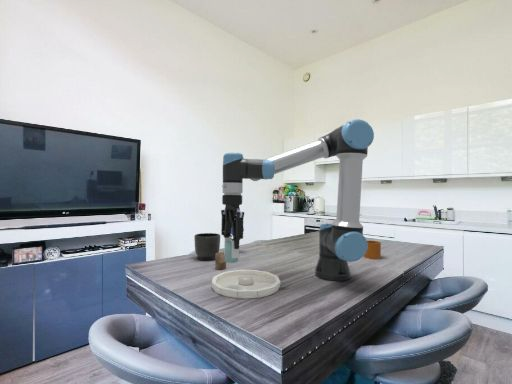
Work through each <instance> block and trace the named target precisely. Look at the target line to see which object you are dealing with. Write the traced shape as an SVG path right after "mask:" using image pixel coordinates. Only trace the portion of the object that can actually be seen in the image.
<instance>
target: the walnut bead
mask: <svg viewBox="0 0 512 384" xmlns="http://www.w3.org/2000/svg"><path fill="white" fill-rule="evenodd" d="M214 259H215V260H214V261H215V265H214V266H215V270H218V271H223V270H226V269H227V262H225V255H224V252H219V253H216V255H215V258H214Z"/></svg>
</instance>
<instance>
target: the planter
mask: <svg viewBox="0 0 512 384" xmlns="http://www.w3.org/2000/svg"><path fill="white" fill-rule="evenodd" d="M220 249H221V234H220V233H213V232H205V233H201V232H200V233H197V234H195V235H194V251H195V254H196V256H197V257H198V258H199V259H200V260H202V261H212V260H214V259H215V255H216V253H220Z"/></svg>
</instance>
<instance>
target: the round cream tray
mask: <svg viewBox="0 0 512 384" xmlns="http://www.w3.org/2000/svg"><path fill="white" fill-rule="evenodd" d="M280 287H281V279H280V278H279V276H278V275H276V274H273V273H272V272H268V271H265V270H263V271H262V270H256V269H236V270H229V271H223V272H221V273H219V274H216V275H215V276H213V277H212V280H211V288H212V290H213V291H214V292H215V293H216V294H218V295H219V296H224V297H227V298H233V299H242V300H244V299H245V300H247V299H249V300H251V299H258V298H264V297H268V296H271V295H273V294H275V293H277V292H278V291H279V290H280Z"/></svg>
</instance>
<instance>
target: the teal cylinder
mask: <svg viewBox="0 0 512 384" xmlns="http://www.w3.org/2000/svg"><path fill="white" fill-rule="evenodd" d="M224 244H225V262H226V263H228V264H233V263H237V262H239V257H238V258H232V241H228V242H225V241H224Z"/></svg>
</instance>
